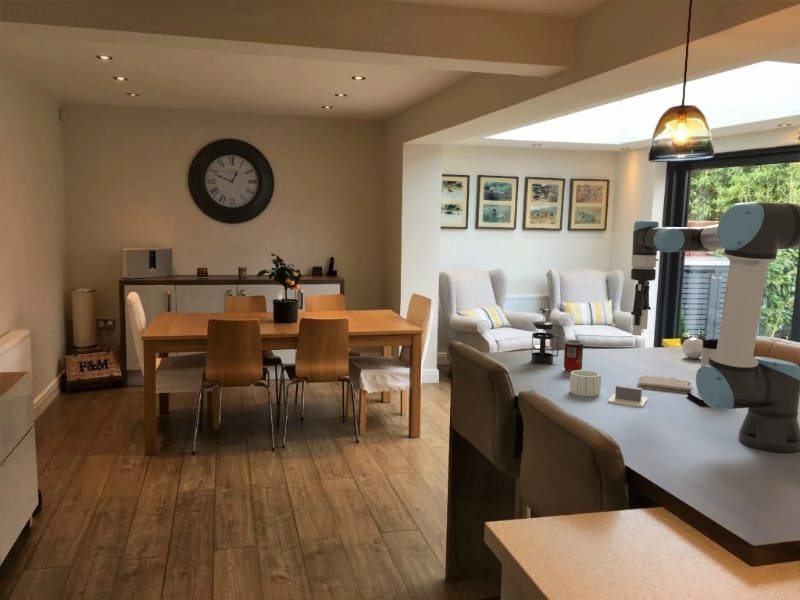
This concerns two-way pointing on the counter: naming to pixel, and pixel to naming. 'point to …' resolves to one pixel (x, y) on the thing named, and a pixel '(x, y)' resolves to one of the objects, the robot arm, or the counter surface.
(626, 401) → the cover
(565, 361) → the soda can
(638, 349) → the counter surface
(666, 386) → the washcloth
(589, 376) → the cream round tub
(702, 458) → the counter surface
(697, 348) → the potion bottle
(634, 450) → the counter surface
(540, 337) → the french press
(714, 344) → the travel mug
